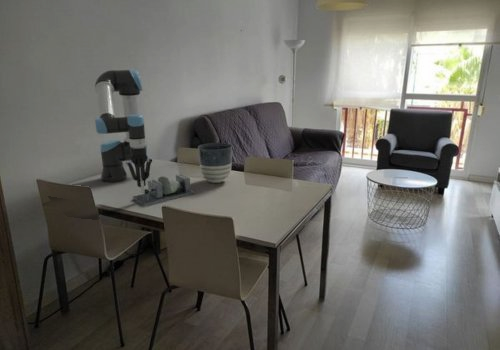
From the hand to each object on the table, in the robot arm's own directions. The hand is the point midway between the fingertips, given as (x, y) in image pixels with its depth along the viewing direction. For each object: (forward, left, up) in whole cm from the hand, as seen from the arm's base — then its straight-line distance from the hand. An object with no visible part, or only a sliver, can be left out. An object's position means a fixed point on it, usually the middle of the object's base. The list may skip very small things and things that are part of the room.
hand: (142, 192), depth 187 cm
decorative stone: (0, +15, -4) cm, 16 cm away
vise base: (0, +11, -5) cm, 12 cm away
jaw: (0, +5, -3) cm, 6 cm away
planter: (-3, +47, -5) cm, 48 cm away
